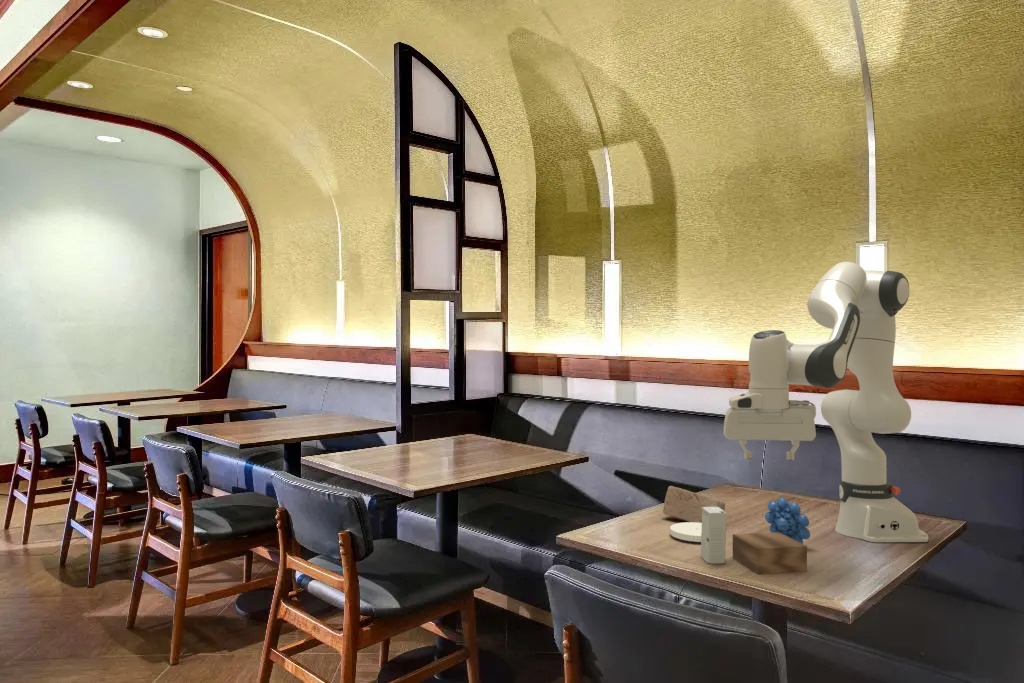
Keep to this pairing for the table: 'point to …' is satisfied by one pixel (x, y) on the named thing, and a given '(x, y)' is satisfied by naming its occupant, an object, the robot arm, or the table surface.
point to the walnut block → (769, 553)
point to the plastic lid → (687, 531)
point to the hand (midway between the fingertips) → (769, 459)
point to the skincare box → (713, 535)
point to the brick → (688, 504)
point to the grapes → (787, 520)
